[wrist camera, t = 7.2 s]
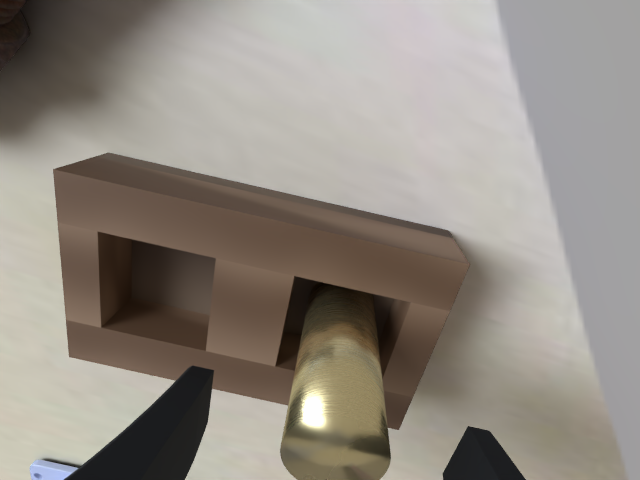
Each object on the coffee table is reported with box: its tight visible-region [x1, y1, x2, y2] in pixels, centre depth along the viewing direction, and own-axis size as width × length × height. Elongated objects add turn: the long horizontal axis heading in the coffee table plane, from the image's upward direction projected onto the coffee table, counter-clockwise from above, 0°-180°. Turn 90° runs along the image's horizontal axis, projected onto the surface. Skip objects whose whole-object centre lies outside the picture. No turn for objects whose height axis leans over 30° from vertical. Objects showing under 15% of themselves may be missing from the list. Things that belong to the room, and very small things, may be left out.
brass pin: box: [280, 282, 391, 480], centre depth 13 cm, size 3×3×7 cm
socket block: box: [53, 153, 470, 430], centre depth 15 cm, size 8×14×3 cm, turn 78°
